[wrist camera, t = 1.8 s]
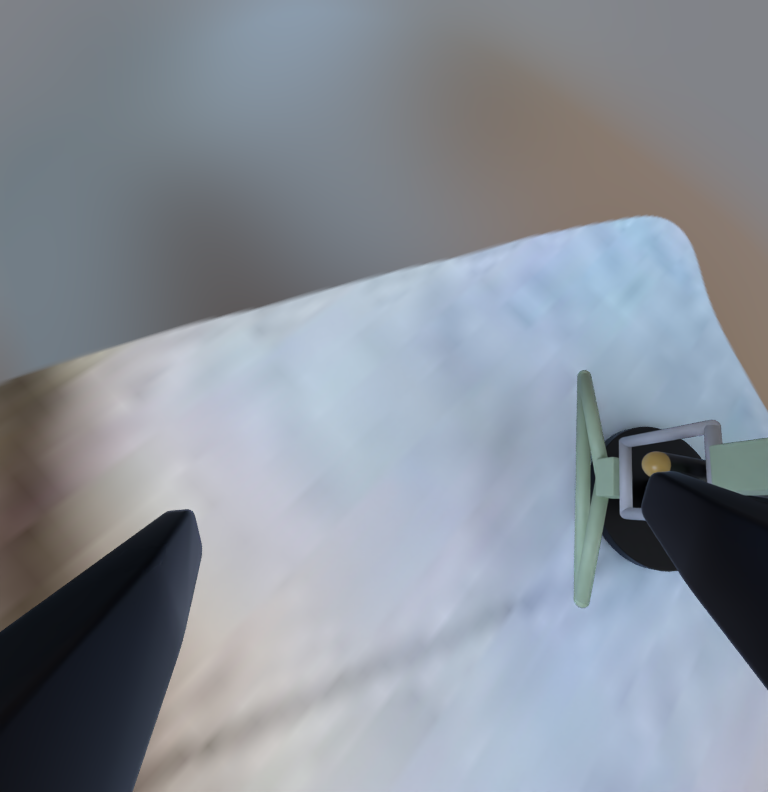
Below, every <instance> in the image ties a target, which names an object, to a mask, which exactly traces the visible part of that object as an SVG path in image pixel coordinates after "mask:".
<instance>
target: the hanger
mask: <svg viewBox="0 0 768 792" xmlns="http://www.w3.org/2000/svg"><path fill="white" fill-rule="evenodd" d="M702 435H704V444H705V458H706V473H707V483H710V484H713V485H716V486H719V487H722V488H725V489H728V490H731V491H733V492H736V493H739V494H742V495H768V438H762V439H754V440H747V441H740V442H732V443H725V444H722V433H721V425H720V423H719V422H718V421H716V420H707V421H702V422H697V423H692V424H687V425H682V426H677V427H672V428H667V429H662V430H657V431H652V432H647V433H642V434H637V435H632V436H627V437H623V438H621V439H620V440H619V458H617V457H607V452H606V447H605V442H604V437H603V432H602V427H601V422H600V417H599V412H598V407H597V402H596V397H595V392H594V387H593V382H592V377H591V374H590V372H588V371H586V370H583V371H580V372H579V373H578V376H577V428H576V487H575V545H574V602H575V604H576V605H577V606H578V607H580V608H586V607H588V605H589V603H590V597H591V592H592V586H593V581H594V575H595V570H596V565H597V559H598V554H599V548H600V543H601V537H602V532H603V526H604V521H605V515H606V510H607V505H608V499H609V498H611V499H620V515H621V517H622V518H624V519H631V520H645V519H644V517H643V515H642V511H641V508H633V497H632V447H635V446H641V445H647V444H653V443H659V442H665V441H671V440H677V439H683V438H689V437H696V436H702ZM591 455H592V461H593V466H594V472H595V477H596V479H595V484H594V489H593V495H592V500H591V506H590V470H591Z"/></svg>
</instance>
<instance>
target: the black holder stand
mask: <svg viewBox="0 0 768 792" xmlns="http://www.w3.org/2000/svg"><path fill="white" fill-rule="evenodd" d="M657 430H662V429H658V428H653V427H638V428H632V429H628V430H624V431H621V432H618V433H617V434H615V435H613V436H611V437H610V438H609V439H607V440H606V441H605V447H606V452H607V457H617V458H619V440H620V439H621V438H623V437H627V436H632V435H637V434H642V433H647V432H652V431H657ZM666 471H675V472H679V473H682V474H684V475H687V476H690V477H693V478H696V479H699V480H702V481H705V482H707V473H706V460H702V459H701V457H700V456H699V455H698V454H697V452H696V451H695V450H694V449H693V448H692V447H691V446H690V445H688V444H687V443H686V442H685V441H683V440H682V439H677V440H671V441H665V442H659V443H653V444H647V445H641V446H635V447H632V497H633V508H641V504H642V500H643V497H644V493H645V490H646V487H647V483H648V480H649V478H650V476H651V475H652V474H653V473H656V472H666ZM595 479H596V477H595V472H594V466H593V461H592V463H591V470H590V506H591V500H592V495H593V489H594V484H595ZM745 496H748V497H751V498H754V499H757V500H759V501H762V502H765V503H768V495H745ZM602 535H603V536H604V538H605V539H606V540H607V542H608V543H609V544H610V545H611V546H612V547H613V548H614V549H615V550H616V551H617V552H618V553H619V554H620V555H622V556H623V557H624V558H626V559H627V560H629V561H631V562H632V563H634V564H636V565H639V566H642V567H644V568H649V569H654V570H658V571H668V572H670V571H678V570H677V569H676V567H675V565H674V564H673V562H672V561H671V559H670V558H669V556H668V555H667V553H666V551H665V550H664V548H663V547H662V545H661V544H660V542H659V541H658V539H657V538H656V536H655V534H654V533H653V531H652V530H651V528H650V527H649V525H648V524H647V522H646V520H631V519H624V518H622V517H621V515H620V499H611V498H609V499H608V505H607V510H606V515H605V521H604V526H603V532H602Z"/></svg>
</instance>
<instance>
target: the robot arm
mask: <svg viewBox="0 0 768 792" xmlns="http://www.w3.org/2000/svg"><path fill="white" fill-rule="evenodd" d="M641 511H642V515H643V517H644V519H645V520H646V522H647V524H648V525H649V527H650V528H651V530H652V531H653V533H654V534H655V536H656V538H657V539H658V541H659V542H660V544H661V545H662V547H663V548H664V550H665V551H666V553H667V555H668V556H669V558H670V559H671V561H672V562H673V564H674V565H675V567H676V569H677V570H678V572H679V573H680V575H681V576H682V578H683V579H684V581H685V582H686V584H687V585H688V587H689V588H690V589H691V591H692V592H693V593H694V595H695V596H696V597H697V599H698V600H699V601H700V603H701V604H702V605H703V606H704V608H705V609H706V610H707V612H708V613H709V614H710V616H711V617H712V618H713V619H714V621H715V622H716V623H717V625H718V626H719V627H720V629H721V630H722V631H723V632H724V634H725V635H726V636H727V638H728V639H729V640H730V642H731V643H732V644H733V645H734V647H735V648H736V649H737V651H738V652H739V653H740V655H741V656H742V657H743V658H744V660H745V661H746V662H747V664H748V665H749V666H750V668H751V669H752V670H753V671H754V673H755V674H756V675H757V677H758V678H759V679H760V681H761V682H762V683H763V684H764V686H765V687H766V688H767V690H768V503H765V502H762V501H759V500H757V499H754V498H751V497H748V496H745V495H742V494H739V493H736V492H733V491H731V490H728V489H725V488H722V487H719V486H716V485H713V484H710V483H707V482H705V481H702V480H699V479H696V478H693V477H690V476H687V475H684V474H682V473H679V472H675V471H666V472H656V473H653V474H652V475H651V476H650V478H649V480H648V483H647V487H646V490H645V493H644V497H643V500H642V504H641ZM201 557H202V544H201V539H200V535H199V531H198V526H197V522H196V518H195V515H194V513H193V511H191V510H189V509H185V510H172V511H167V512H166V513H164V514H163V515H161V516H160V517H158V518H157V519H156V520H154V521H153V522H152V523H150V524H149V525H147V526H146V527H145V528H143V529H142V530H140V531H139V532H138V533H136V534H135V535H134V536H132V537H131V538H129V539H128V540H127V541H125V542H124V543H123V544H121V545H120V546H118V547H117V548H116V549H114V550H113V551H111V552H110V553H109V554H107V555H106V556H105V557H103V558H102V559H100V560H99V561H98V562H96V563H95V564H94V565H92V566H91V567H89V568H88V569H87V570H85V571H84V572H82V573H81V574H80V575H78V576H77V577H76V578H74V579H73V580H71V581H70V582H69V583H67V584H66V585H65V586H63V587H62V588H60V589H59V590H58V591H56V592H55V593H54V594H52V595H51V596H49V597H48V598H47V599H45V600H44V601H42V602H41V603H40V604H38V605H37V606H36V607H34V608H33V609H31V610H30V611H29V612H27V613H26V614H24V615H23V616H22V617H20V618H19V619H18V620H16V621H15V622H13V623H12V624H11V625H9V626H8V627H7V628H5V629H4V630H2V631H1V632H0V792H133V789H134V786H135V783H136V780H137V777H138V774H139V771H140V768H141V765H142V762H143V759H144V756H145V753H146V750H147V747H148V744H149V741H150V738H151V735H152V732H153V729H154V726H155V723H156V720H157V717H158V714H159V711H160V708H161V705H162V702H163V699H164V696H165V694H166V691H167V688H168V685H169V682H170V679H171V676H172V673H173V670H174V667H175V664H176V661H177V658H178V655H179V651H180V648H181V645H182V642H183V638H184V633H185V629H186V625H187V621H188V616H189V612H190V607H191V603H192V598H193V594H194V589H195V584H196V580H197V575H198V571H199V566H200V562H201Z"/></svg>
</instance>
